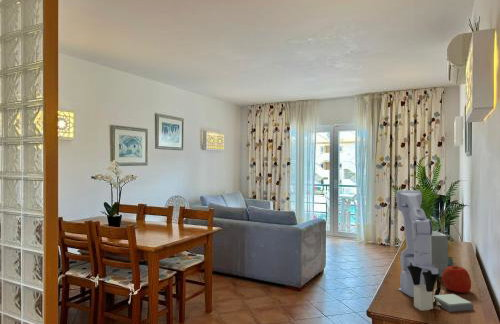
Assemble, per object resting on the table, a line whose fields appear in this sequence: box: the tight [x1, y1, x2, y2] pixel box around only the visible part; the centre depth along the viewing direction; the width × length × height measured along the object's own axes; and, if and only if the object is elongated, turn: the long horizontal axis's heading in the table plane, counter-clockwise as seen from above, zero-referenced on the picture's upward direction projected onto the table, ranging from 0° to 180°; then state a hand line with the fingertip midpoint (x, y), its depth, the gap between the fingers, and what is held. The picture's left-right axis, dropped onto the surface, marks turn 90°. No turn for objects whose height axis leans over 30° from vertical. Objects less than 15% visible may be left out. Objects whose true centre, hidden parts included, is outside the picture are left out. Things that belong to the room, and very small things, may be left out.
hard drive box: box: [427, 230, 449, 278], centre depth 175 cm, size 16×8×20 cm, turn 168°
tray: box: [433, 293, 474, 313], centre depth 134 cm, size 10×10×2 cm
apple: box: [441, 265, 472, 294], centre depth 150 cm, size 11×11×11 cm
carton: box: [413, 285, 434, 311], centre depth 132 cm, size 4×5×8 cm
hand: (423, 287), depth 132 cm, fingers open, 7 cm apart
